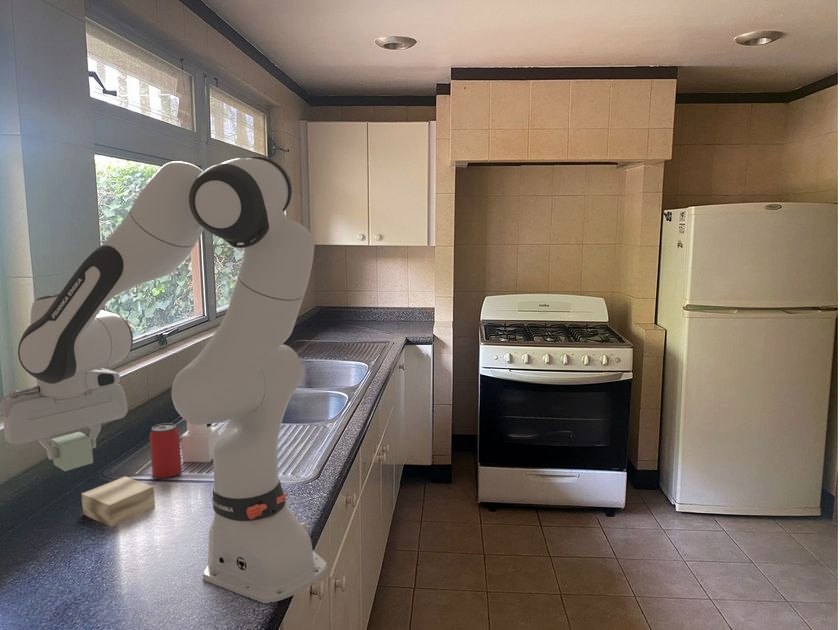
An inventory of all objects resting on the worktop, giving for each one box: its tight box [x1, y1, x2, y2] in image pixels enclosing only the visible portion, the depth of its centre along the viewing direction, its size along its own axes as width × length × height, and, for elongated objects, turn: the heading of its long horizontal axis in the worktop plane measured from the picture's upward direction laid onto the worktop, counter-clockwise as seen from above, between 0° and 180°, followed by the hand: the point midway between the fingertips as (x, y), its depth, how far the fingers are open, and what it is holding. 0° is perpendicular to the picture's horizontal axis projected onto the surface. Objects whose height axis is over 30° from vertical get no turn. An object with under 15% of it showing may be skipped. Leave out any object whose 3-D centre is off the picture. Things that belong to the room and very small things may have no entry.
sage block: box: [50, 431, 94, 472], centre depth 114 cm, size 5×5×5 cm
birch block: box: [80, 476, 156, 528], centre depth 131 cm, size 10×10×5 cm
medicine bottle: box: [180, 421, 220, 463], centre depth 159 cm, size 7×7×12 cm
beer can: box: [149, 422, 182, 480], centre depth 148 cm, size 7×7×12 cm
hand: (72, 452), depth 114 cm, fingers closed on sage block, 5 cm apart
